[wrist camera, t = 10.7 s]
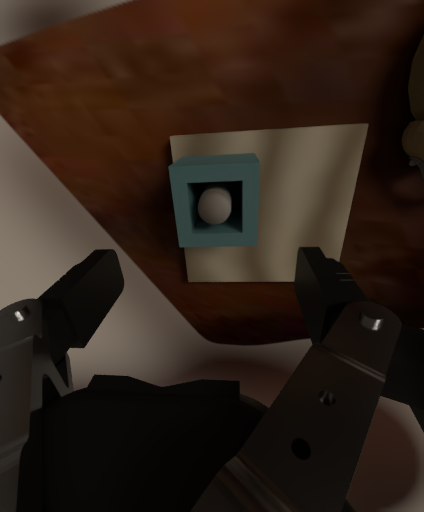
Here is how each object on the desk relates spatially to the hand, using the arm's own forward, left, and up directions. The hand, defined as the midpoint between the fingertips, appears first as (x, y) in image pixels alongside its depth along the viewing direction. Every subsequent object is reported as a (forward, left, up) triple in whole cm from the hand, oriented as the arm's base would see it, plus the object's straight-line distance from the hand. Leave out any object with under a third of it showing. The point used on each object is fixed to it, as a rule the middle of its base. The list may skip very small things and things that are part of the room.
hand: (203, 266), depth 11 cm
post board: (-4, +3, -15) cm, 16 cm away
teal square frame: (0, 0, -13) cm, 13 cm away
